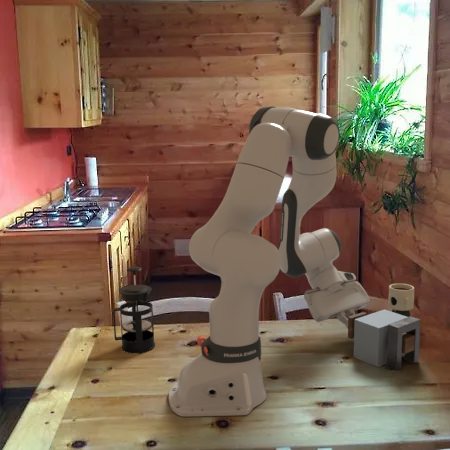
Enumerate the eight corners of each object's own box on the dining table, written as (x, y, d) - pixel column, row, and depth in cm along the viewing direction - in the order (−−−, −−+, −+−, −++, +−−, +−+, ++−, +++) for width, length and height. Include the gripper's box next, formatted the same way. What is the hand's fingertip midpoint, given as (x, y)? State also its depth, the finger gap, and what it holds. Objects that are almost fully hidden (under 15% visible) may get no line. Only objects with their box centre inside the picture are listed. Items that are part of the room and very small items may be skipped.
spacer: (386, 367, 147) (388, 324, 144) (408, 357, 152) (410, 316, 150) (396, 371, 144) (398, 327, 142) (418, 361, 150) (420, 319, 147)
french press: (155, 338, 169) (151, 261, 164) (159, 351, 160) (155, 270, 155) (114, 343, 166) (109, 265, 162) (116, 356, 157) (111, 274, 153)
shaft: (347, 337, 158) (348, 316, 157) (362, 332, 162) (363, 312, 161) (401, 359, 144) (402, 336, 143) (416, 352, 148) (417, 330, 147)
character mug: (382, 322, 177) (383, 281, 174) (405, 321, 177) (406, 281, 175) (394, 336, 166) (395, 293, 164) (418, 335, 167) (420, 292, 164)
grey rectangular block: (353, 356, 153) (354, 319, 151) (383, 345, 160) (384, 309, 158) (377, 367, 147) (379, 328, 145) (407, 354, 154) (409, 317, 152)
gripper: (307, 286, 158) (333, 330, 152) (357, 272, 169) (383, 313, 164) (295, 297, 162) (320, 341, 156) (345, 283, 174) (370, 323, 168)
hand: (353, 326), depth 160 cm, fingers closed, pressing on shaft
